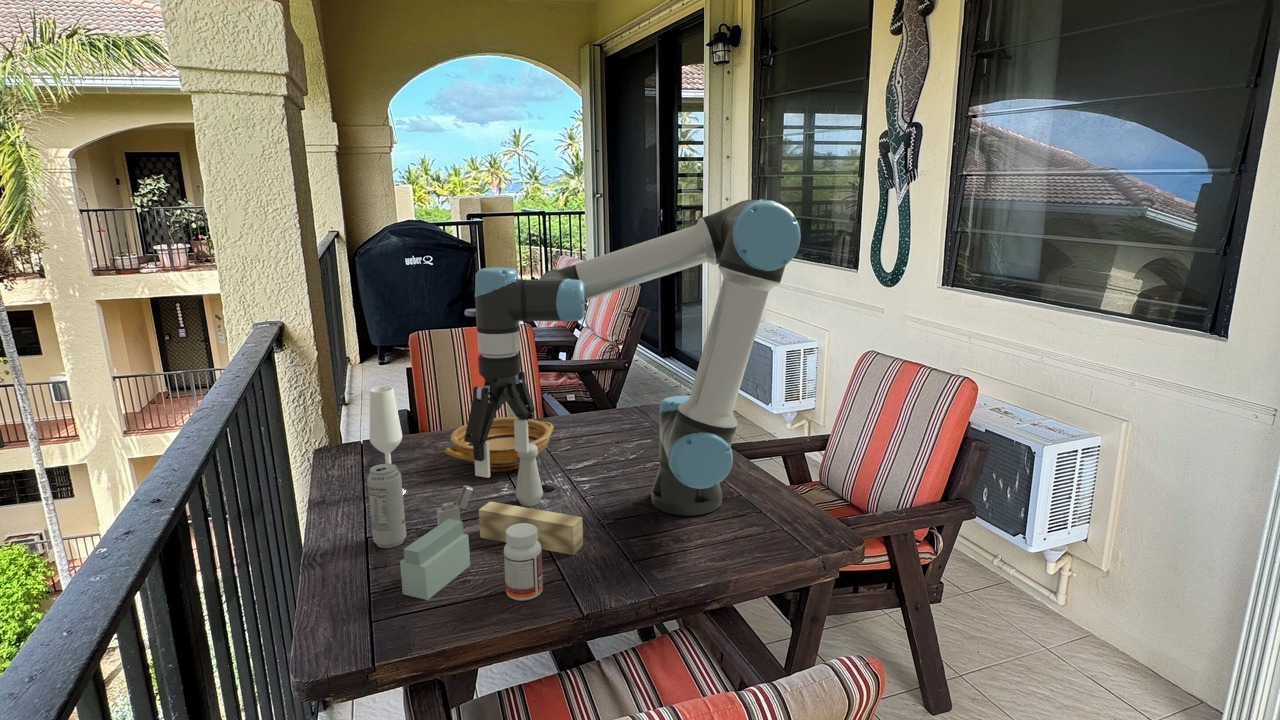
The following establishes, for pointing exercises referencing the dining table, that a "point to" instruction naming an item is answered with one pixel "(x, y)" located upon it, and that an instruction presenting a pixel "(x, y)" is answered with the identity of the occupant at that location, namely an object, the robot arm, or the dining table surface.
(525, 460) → the salt shaker
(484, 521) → the oak bar
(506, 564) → the pill bottle
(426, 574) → the ridge block
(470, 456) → the ceramic bowl
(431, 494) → the dining table surface
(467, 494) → the lighter
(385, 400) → the champagne flute
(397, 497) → the energy drink can
